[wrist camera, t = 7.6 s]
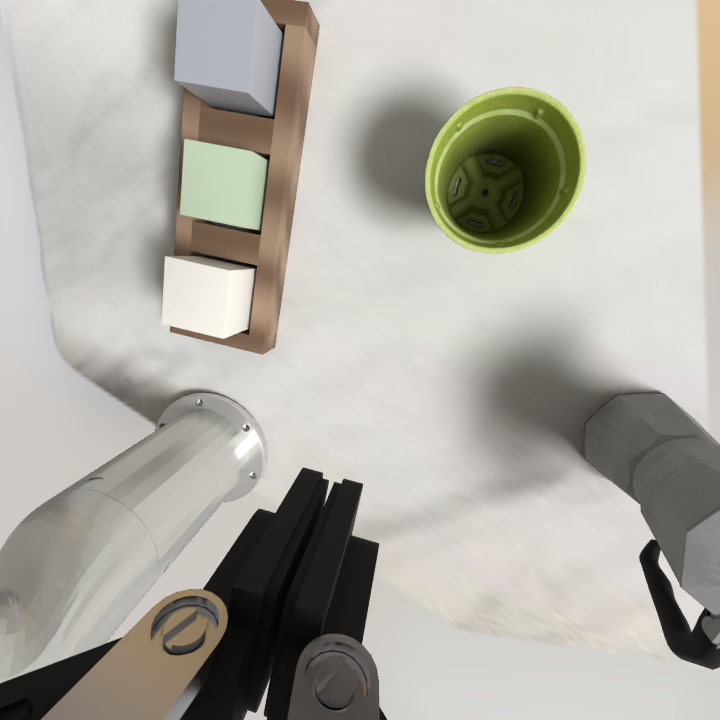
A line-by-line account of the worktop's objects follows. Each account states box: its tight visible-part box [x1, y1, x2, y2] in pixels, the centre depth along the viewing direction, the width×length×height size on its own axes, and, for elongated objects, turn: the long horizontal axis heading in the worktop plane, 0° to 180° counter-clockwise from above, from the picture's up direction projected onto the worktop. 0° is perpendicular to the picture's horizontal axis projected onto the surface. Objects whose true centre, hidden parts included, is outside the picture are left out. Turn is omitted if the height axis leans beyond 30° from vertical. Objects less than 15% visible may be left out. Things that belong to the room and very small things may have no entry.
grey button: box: [174, 0, 284, 117], centre depth 29 cm, size 6×6×5 cm
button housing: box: [170, 0, 320, 355], centre depth 34 cm, size 27×9×3 cm, turn 169°
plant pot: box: [425, 87, 587, 254], centre depth 28 cm, size 9×9×9 cm
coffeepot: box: [584, 393, 720, 670], centre depth 27 cm, size 15×9×18 cm, turn 164°
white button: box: [162, 256, 257, 339], centre depth 34 cm, size 6×6×5 cm
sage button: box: [180, 139, 269, 230], centre depth 33 cm, size 6×6×5 cm
